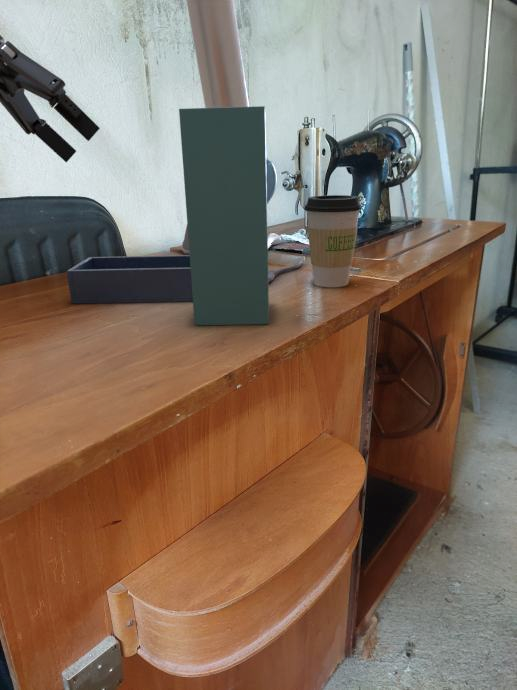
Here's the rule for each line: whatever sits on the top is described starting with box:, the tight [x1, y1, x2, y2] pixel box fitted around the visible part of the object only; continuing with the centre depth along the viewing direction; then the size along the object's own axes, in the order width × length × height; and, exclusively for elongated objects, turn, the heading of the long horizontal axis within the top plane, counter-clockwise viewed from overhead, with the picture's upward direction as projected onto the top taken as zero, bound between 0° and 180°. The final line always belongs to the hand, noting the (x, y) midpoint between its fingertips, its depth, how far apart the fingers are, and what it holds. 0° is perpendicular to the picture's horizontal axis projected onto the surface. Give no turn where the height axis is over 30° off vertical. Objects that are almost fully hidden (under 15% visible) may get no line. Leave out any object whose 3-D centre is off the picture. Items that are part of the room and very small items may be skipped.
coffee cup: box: [304, 194, 363, 288], centre depth 91 cm, size 10×10×15 cm
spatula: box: [268, 232, 282, 249], centre depth 121 cm, size 28×4×3 cm, turn 173°
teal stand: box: [178, 105, 270, 326], centre depth 72 cm, size 10×9×28 cm
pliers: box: [268, 259, 303, 284], centre depth 102 cm, size 10×1×20 cm
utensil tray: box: [66, 254, 193, 305], centre depth 89 cm, size 23×11×6 cm, turn 89°
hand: (82, 146), depth 87 cm, fingers open, 13 cm apart
